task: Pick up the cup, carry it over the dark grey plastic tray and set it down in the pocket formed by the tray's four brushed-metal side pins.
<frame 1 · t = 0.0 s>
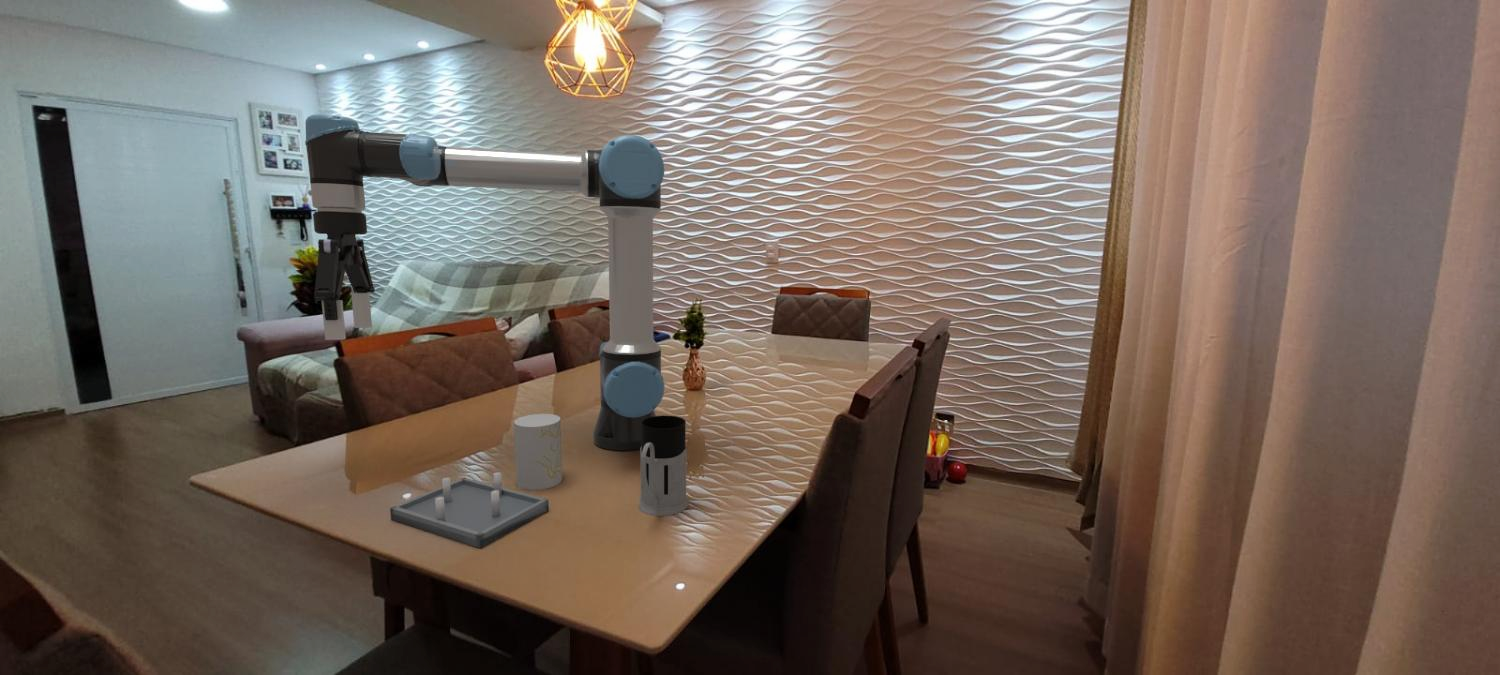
hand: (350, 333, 105), 28 cm above the table, fingers open, 13 cm apart
cup: (539, 482, 112), on the table
glass holder: (658, 512, 100), on the table
tray: (471, 514, 97), on the table
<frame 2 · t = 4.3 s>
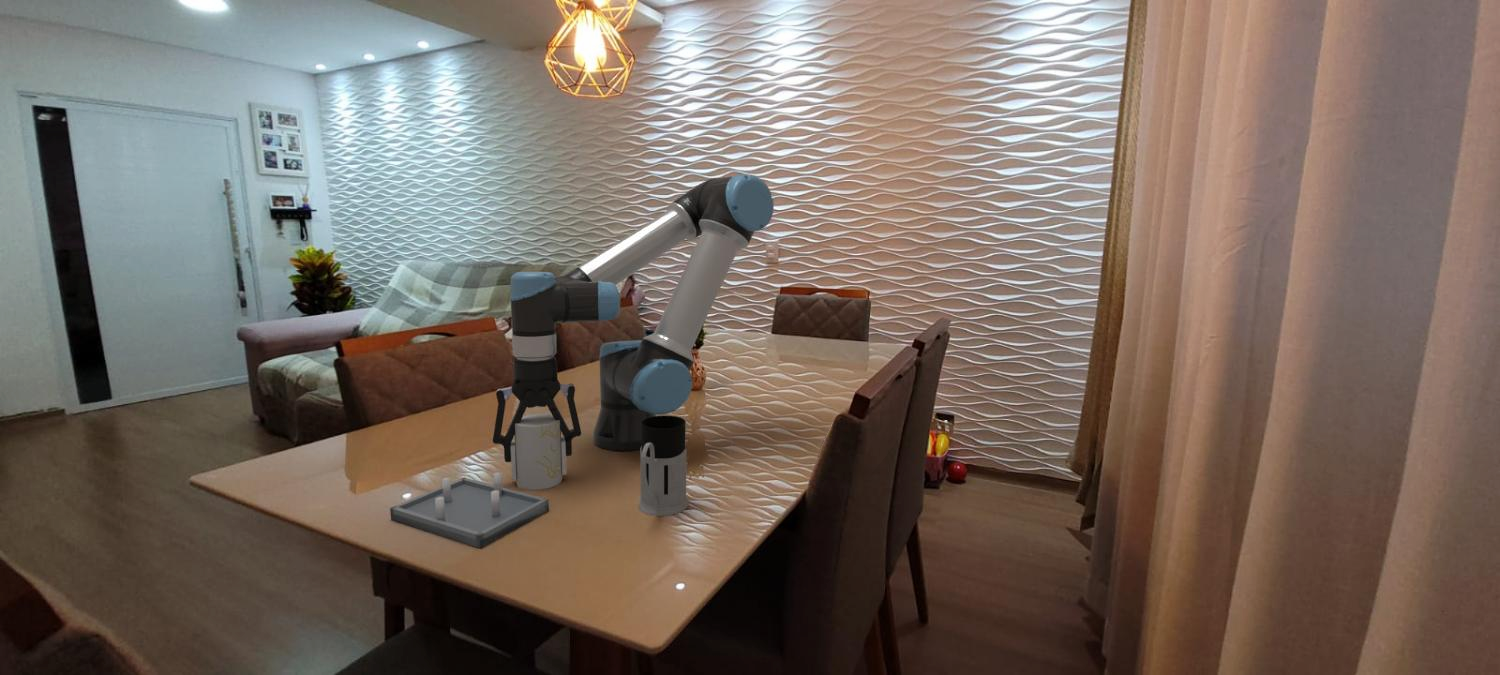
hand: (539, 474, 111), 1 cm above the table, fingers closed on cup, 8 cm apart
cup: (539, 482, 111), on the table, touching gripper
everything else where it was.
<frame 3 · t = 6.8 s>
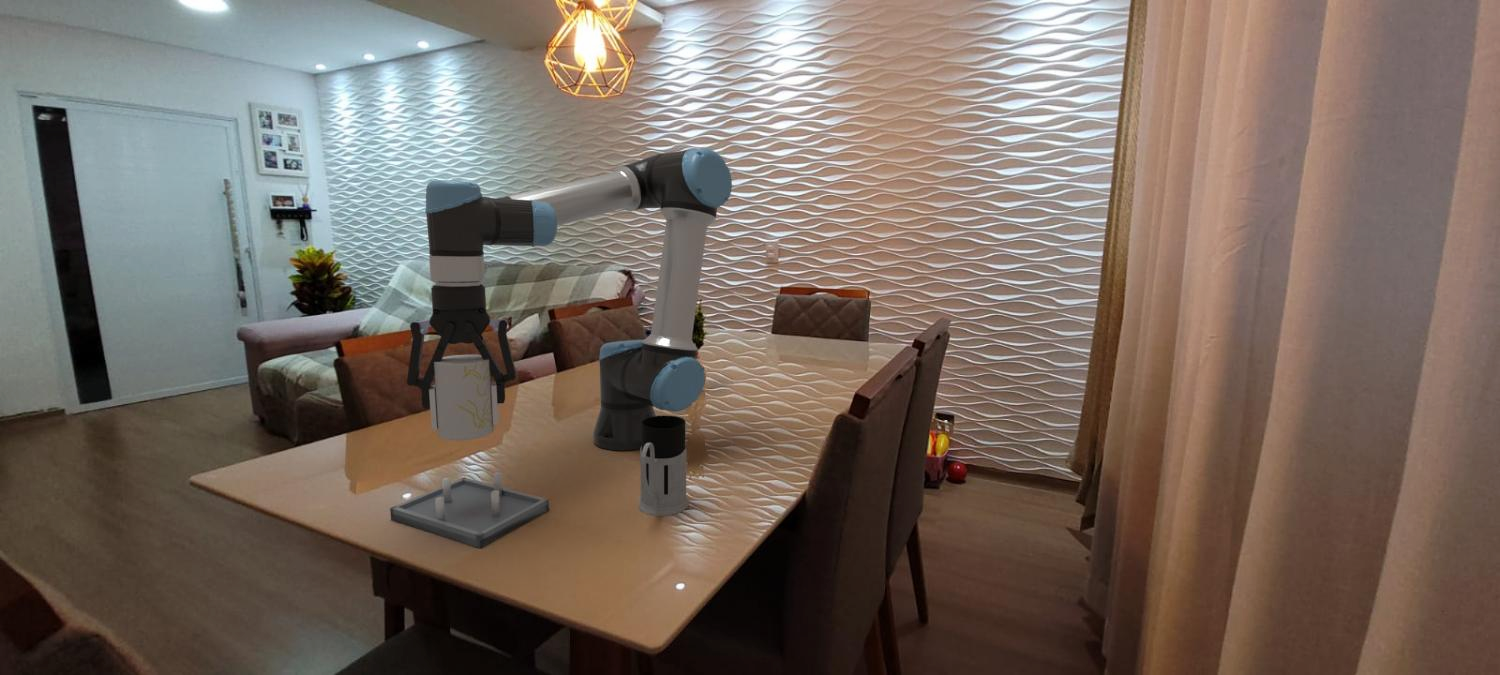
hand: (466, 424, 95), 15 cm above the table, fingers closed on cup, 8 cm apart
cup: (466, 433, 95), point 14 cm above the table, touching gripper
everything else where it was.
when the fingers open (4 cm above the table, at t = 9.6 s): cup drops 1 cm, resting on tray.
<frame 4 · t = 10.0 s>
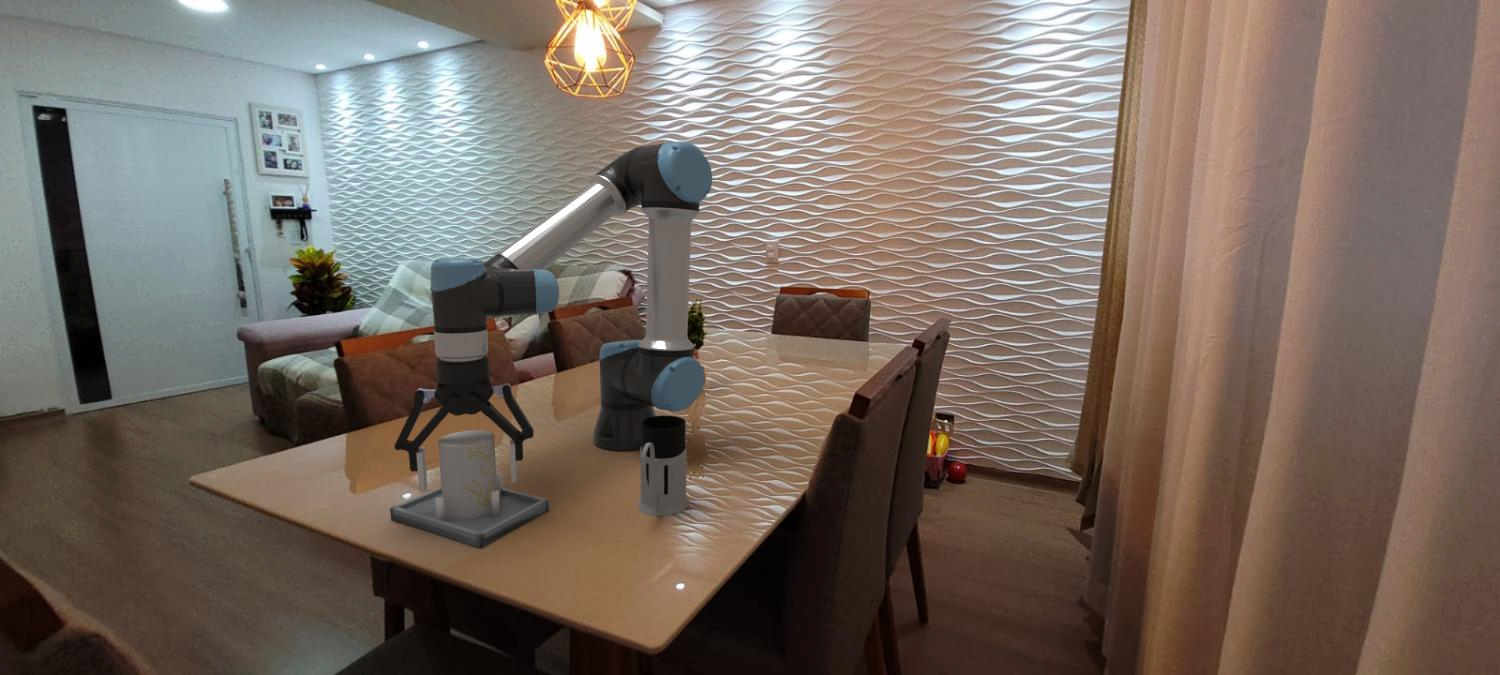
hand: (469, 484, 96), 5 cm above the table, fingers open, 13 cm apart
cup: (470, 509, 97), point 1 cm above the table, touching tray
everything else where it was.
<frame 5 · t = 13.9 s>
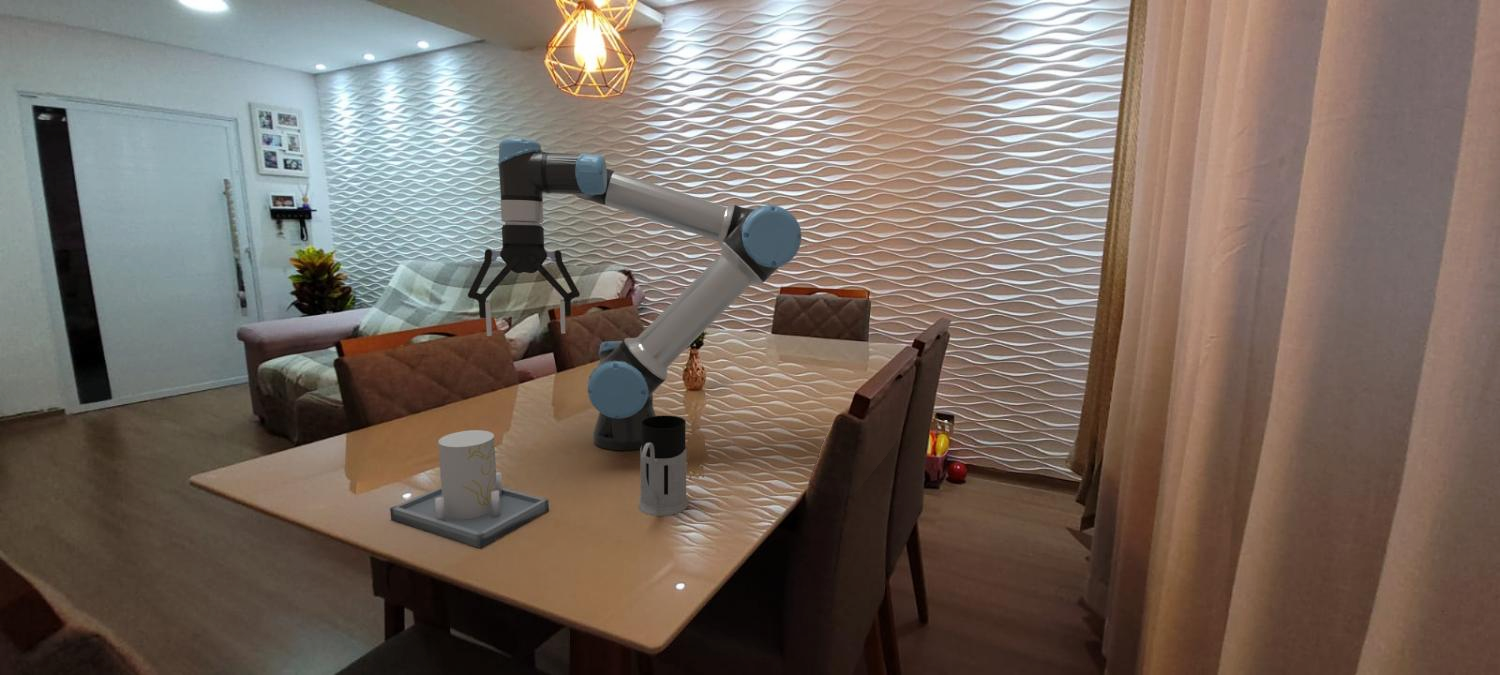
hand: (527, 333, 116), 27 cm above the table, fingers open, 13 cm apart
nothing on the table moved.
at the end: cup 0.1 cm off-centre on the tray, point 1.0 cm above the tray's base; cup tilted 0°; cup touching tray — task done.
